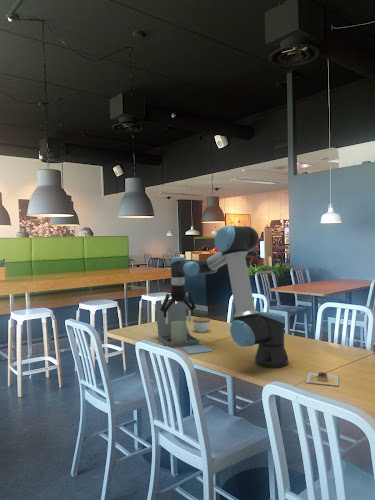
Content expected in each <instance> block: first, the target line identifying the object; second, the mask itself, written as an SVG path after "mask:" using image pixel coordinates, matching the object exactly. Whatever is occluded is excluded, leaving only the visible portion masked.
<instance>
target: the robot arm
mask: <svg viewBox="0 0 375 500" xmlns="http://www.w3.org/2000/svg"><path fill="white" fill-rule="evenodd" d="M259 243H260V236H259V233H258V231H256V229H255V228H253V227H251V226H246V225H245V226H244V225H243V226H242V225H239V226H238V225H229V226H226V225H225V226H222V227H220V228H219V229H218V230H217V232H216V234H215V237H214V246H215V248H216V250H217V252H216V253H213V254H212V255H211V256H209V257H208V258H206V259H204V260H202V259H201V260H186V259H185V257H184V256H172V257H171V258H170V275H171V276H170V281H171V282H170V284H171V285H170V287H171V288H170V289H171V290H170V292H171V293H165V297H164V299H163V302H162V306H161V308H160V310H161V311H163V312H164V318H165V323H166V324H168V312H167V310H168V309H169V307H170V306H171V305H172V304H173V303H177V302H182V303H185V306H186V307H187V308H188V310H187V311H188V313H187V322H189V323H191V322H192V316H193V313H194V312H193V311H194V310H195V309H196V308H197V306H196V305H195V303H194V301H193V299H192V296H191V292H186V289H185V288H186V287H185V284H186V282H185V281H186V279H185V276H189V277H194V276H195V277H196V276H197V275H208V274H209V275H210V274H215V273H217V272H218V270H219V268H221V267H222V266H224V265H226V264H227V270H228V276H229V282H230V285H231V292H232V298H233V304H234V308H235V313H234V315H233V316H232V317H233V321H232V322H231V324H230V327H229V331H230V332H229V333H230V336H231V338H232V340H233V341H234V342H235V343H236V344H237V345H238V346H240V347H252V346H254V345H257V349H256V353H255V356H254V363H255V364H256V365H258V366H260V367H264V368H275V369H276V368H284V367H287V366H288V365H289V356H288V354H287V351H286V348H285V318H284V316H283V315H282V314H280V313H275V312H268V311H265V312H264V311H258V310H256V307H255V302H254V298H253V292H252V285H251V281H250V276H249V275H250V274H249V270H248V265H247V260H246V256H247V255H248V253H250V252H252V251H253V250H255V249H256V248H257V246H258V245H259ZM170 297H171V299H170ZM185 297H187V299H188V300H187V299H186V298H185ZM169 299H170V300H169ZM168 301H169V302H168ZM188 301H189V302H188ZM166 304H167V306H166ZM165 306H166V307H165Z"/></svg>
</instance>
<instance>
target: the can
mask: <svg viewBox="0 0 375 500" xmlns="http://www.w3.org/2000/svg"><path fill="white" fill-rule="evenodd" d="M187 324H188V321H187V322H185V321H173V322H171V341H170V342H171V343H174V342H183V341H187Z"/></svg>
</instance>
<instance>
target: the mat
mask: <svg viewBox="0 0 375 500" xmlns="http://www.w3.org/2000/svg"><path fill="white" fill-rule="evenodd" d="M180 349H181V350H182V351H184V352H185V353H186V354H187V355H197V354H205V353H213V352H214V350H213V349H211V348H209V347H208V346H206V345H204V344H199V345H193V346H184V347H180Z"/></svg>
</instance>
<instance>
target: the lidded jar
mask: <svg viewBox="0 0 375 500" xmlns="http://www.w3.org/2000/svg"><path fill="white" fill-rule="evenodd" d="M210 321H211V319H210V317H209V318H208V317H203V316H200V317H195V318H193V319H192V325H193V329H194V330H195V331H196V332H197V333H206V332H207V331H208V330H209V329H210V325H211V323H210Z"/></svg>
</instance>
